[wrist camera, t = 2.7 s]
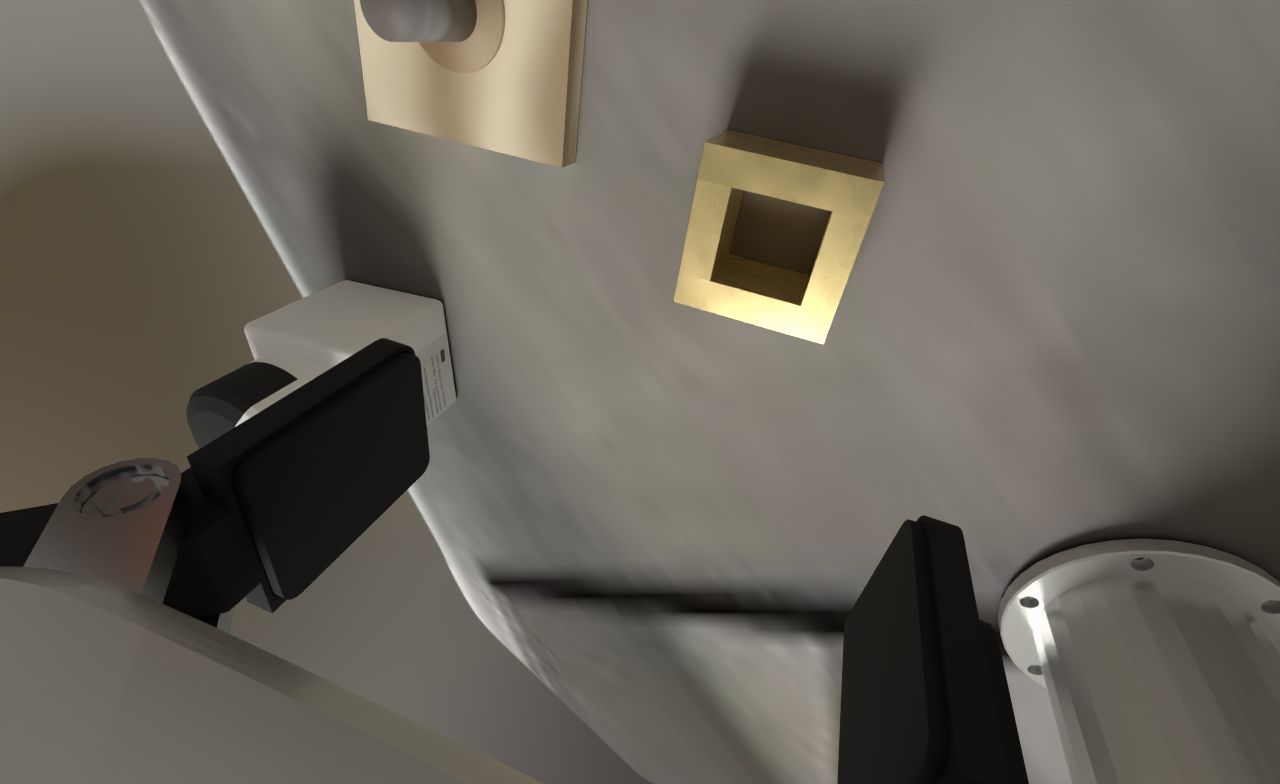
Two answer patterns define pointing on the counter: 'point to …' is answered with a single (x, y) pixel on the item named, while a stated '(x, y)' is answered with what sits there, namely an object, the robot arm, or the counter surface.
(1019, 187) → the counter surface
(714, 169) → the collar
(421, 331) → the container
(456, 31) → the post stand
